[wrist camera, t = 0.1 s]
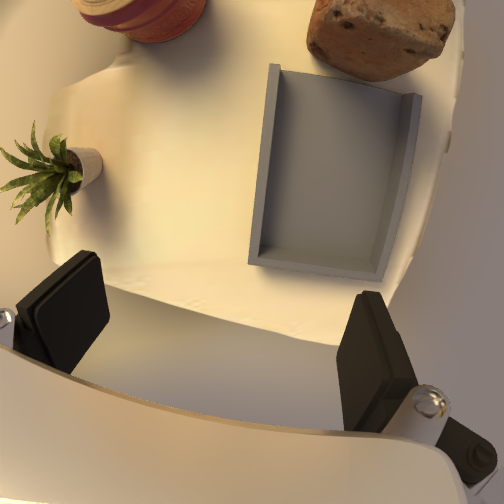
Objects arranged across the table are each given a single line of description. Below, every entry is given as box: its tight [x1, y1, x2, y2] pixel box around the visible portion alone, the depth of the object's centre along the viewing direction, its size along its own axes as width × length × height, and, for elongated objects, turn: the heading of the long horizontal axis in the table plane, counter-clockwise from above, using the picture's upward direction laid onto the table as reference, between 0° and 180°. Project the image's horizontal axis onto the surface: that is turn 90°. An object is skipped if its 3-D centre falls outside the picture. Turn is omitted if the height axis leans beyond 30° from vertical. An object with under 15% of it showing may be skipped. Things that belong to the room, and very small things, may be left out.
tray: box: [248, 64, 422, 282], centre depth 36 cm, size 25×18×4 cm
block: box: [306, 0, 455, 82], centre depth 21 cm, size 11×8×20 cm
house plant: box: [0, 122, 103, 236], centre depth 33 cm, size 14×14×16 cm
